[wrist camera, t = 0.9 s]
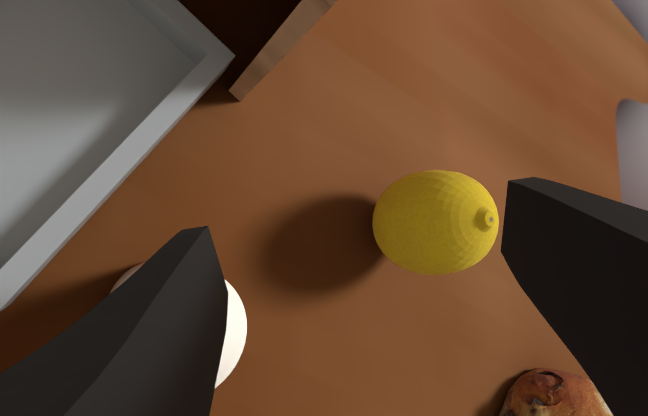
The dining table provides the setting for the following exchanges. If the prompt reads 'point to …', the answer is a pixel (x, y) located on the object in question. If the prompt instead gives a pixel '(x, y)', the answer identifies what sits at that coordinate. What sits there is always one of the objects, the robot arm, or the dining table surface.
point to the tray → (86, 111)
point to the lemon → (435, 222)
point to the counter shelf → (280, 44)
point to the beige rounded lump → (234, 328)
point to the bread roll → (553, 395)
